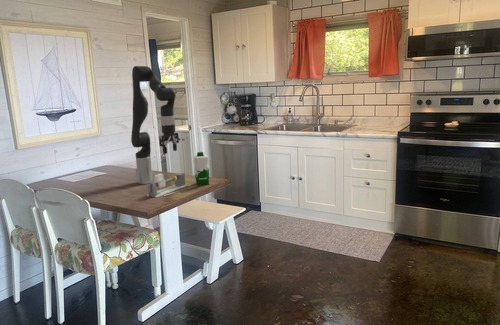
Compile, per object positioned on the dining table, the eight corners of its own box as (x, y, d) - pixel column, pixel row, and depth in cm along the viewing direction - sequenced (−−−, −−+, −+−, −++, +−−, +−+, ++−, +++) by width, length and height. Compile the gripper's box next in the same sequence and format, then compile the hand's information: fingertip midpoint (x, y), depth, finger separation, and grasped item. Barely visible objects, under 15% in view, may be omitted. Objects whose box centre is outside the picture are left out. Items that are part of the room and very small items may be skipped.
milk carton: (208, 181, 255) (206, 151, 250) (210, 184, 246) (208, 153, 242) (194, 182, 252) (192, 152, 248) (196, 186, 244) (194, 154, 240)
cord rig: (157, 197, 223) (155, 184, 221) (146, 196, 227) (145, 182, 225) (187, 186, 245) (186, 173, 244) (177, 184, 249) (176, 172, 248)
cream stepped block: (159, 189, 227) (158, 176, 225) (153, 188, 229) (152, 175, 227) (165, 187, 231) (164, 174, 229) (159, 186, 233) (158, 173, 232)
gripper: (171, 122, 228) (173, 149, 232) (154, 125, 216) (156, 153, 220) (181, 122, 225) (183, 150, 228) (164, 125, 213) (167, 154, 216)
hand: (170, 152), depth 224 cm, fingers open, 8 cm apart
